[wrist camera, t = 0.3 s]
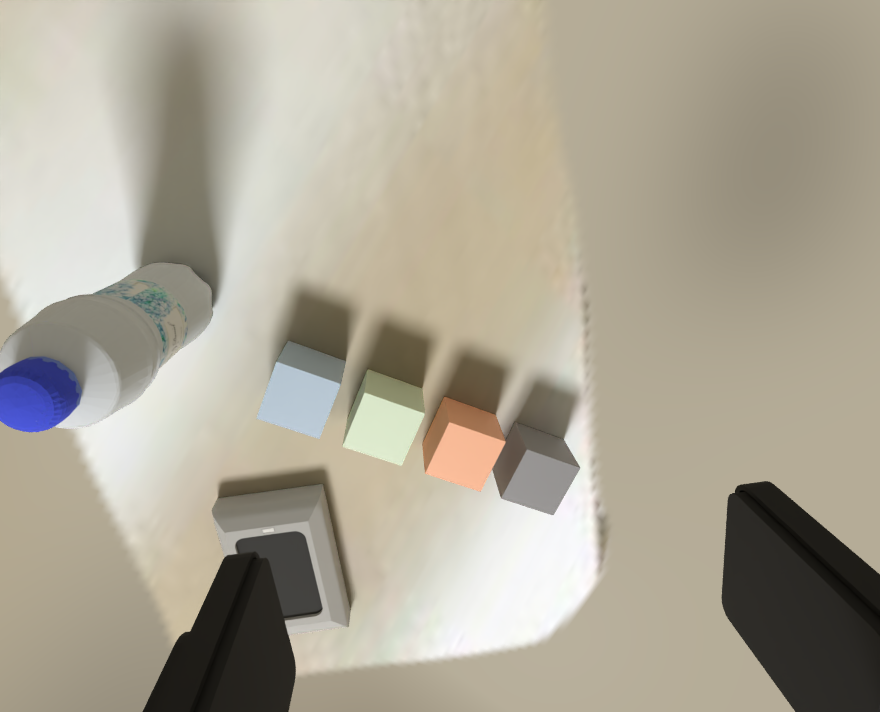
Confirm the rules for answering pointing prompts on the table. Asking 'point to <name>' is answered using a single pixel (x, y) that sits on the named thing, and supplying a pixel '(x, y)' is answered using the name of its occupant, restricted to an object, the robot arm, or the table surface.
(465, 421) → the terracotta block
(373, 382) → the sage-green block
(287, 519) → the gray dark-screened device
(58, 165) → the table surface
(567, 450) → the gray block
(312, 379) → the slate-blue block
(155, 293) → the bottle
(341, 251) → the table surface
